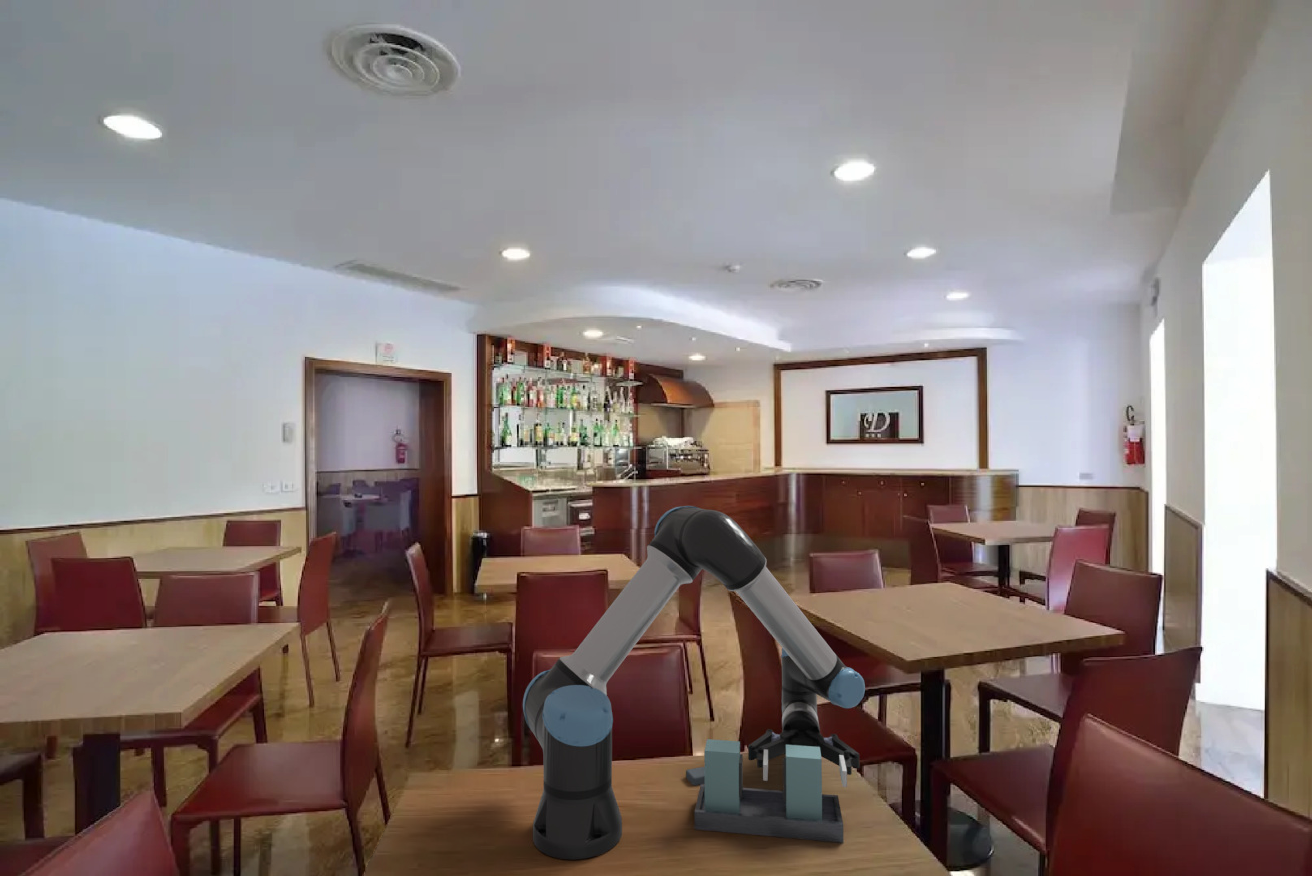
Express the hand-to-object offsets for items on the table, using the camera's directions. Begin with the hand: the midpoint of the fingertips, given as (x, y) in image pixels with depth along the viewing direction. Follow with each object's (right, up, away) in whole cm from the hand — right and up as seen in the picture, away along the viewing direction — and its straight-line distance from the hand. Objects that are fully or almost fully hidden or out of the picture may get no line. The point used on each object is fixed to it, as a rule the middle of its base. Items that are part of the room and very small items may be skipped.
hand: (804, 775), depth 119 cm
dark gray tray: (-6, -9, +2) cm, 11 cm away
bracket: (-15, -10, +18) cm, 25 cm away
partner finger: (-14, -7, +3) cm, 16 cm away
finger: (0, -7, +1) cm, 7 cm away
